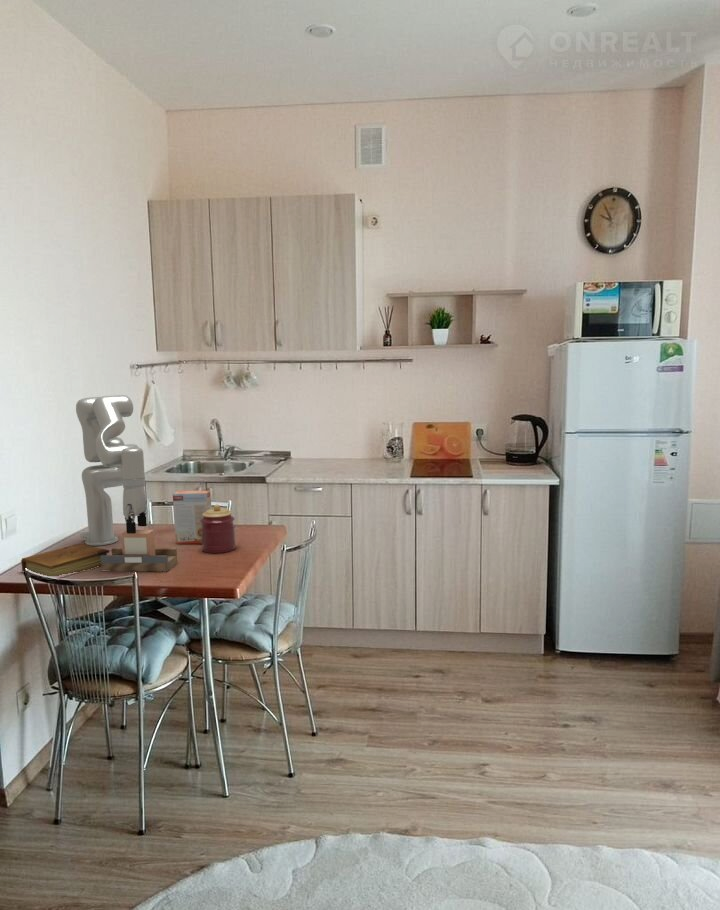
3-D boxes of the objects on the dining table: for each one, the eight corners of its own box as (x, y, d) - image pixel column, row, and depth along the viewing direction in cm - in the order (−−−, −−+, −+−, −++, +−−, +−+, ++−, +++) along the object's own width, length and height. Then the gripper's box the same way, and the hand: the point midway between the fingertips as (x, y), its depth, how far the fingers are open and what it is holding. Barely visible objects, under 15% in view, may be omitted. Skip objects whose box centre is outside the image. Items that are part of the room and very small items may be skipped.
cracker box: (213, 540, 293) (211, 489, 290) (209, 544, 287) (206, 492, 284) (180, 540, 295) (177, 490, 292) (175, 544, 289) (172, 492, 286)
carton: (128, 556, 261) (126, 529, 260) (155, 557, 260) (153, 529, 259) (122, 560, 256) (120, 533, 255) (150, 561, 255) (148, 533, 254)
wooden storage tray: (101, 571, 254) (99, 556, 253) (114, 562, 265) (112, 548, 264) (167, 571, 252) (166, 556, 251) (177, 563, 262) (176, 548, 262)
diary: (80, 557, 275) (79, 543, 274) (110, 565, 264) (109, 550, 263) (22, 573, 256) (20, 557, 255) (52, 582, 245) (50, 565, 245)
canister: (207, 544, 287) (204, 501, 284) (239, 544, 286) (237, 500, 283) (198, 553, 274) (195, 508, 271) (231, 553, 273) (229, 508, 271)
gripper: (133, 477, 263) (136, 523, 266) (113, 487, 246) (116, 536, 249) (153, 477, 262) (156, 523, 265) (134, 487, 245) (137, 536, 248)
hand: (137, 529), depth 257 cm, fingers open, 9 cm apart
